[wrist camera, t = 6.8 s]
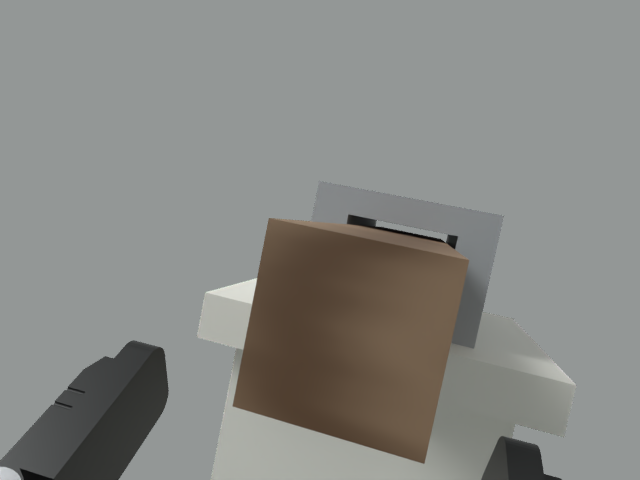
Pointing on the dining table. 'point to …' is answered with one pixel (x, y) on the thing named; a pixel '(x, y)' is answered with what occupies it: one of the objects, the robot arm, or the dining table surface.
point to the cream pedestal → (458, 382)
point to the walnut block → (351, 332)
